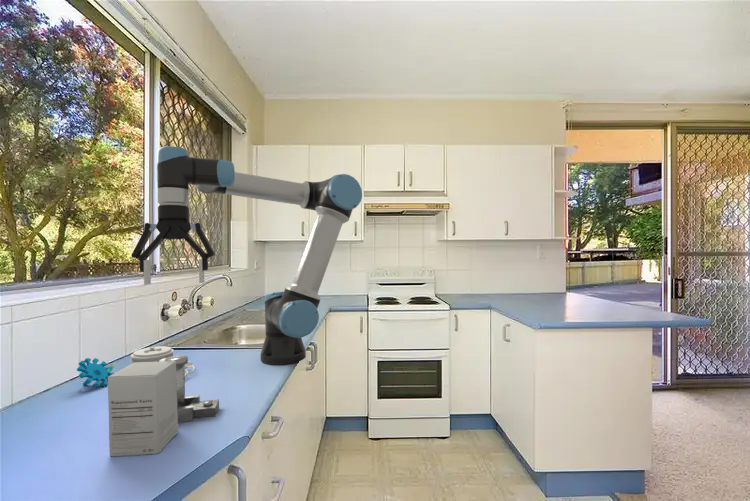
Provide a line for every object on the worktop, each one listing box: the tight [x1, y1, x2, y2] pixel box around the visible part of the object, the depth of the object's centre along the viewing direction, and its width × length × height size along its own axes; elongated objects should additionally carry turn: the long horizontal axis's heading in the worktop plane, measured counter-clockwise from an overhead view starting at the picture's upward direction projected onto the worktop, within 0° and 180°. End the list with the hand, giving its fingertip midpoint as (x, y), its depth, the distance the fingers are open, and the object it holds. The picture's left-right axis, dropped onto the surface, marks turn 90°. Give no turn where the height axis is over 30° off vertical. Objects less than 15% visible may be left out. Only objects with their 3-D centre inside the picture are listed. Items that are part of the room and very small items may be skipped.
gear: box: [76, 357, 115, 388], centre depth 110 cm, size 11×6×10 cm
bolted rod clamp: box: [177, 394, 220, 424], centre depth 88 cm, size 17×7×3 cm, turn 103°
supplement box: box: [107, 361, 179, 457], centre depth 76 cm, size 9×9×15 cm
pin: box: [165, 355, 189, 407], centre depth 88 cm, size 5×5×13 cm
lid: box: [130, 345, 175, 364], centre depth 130 cm, size 13×13×5 cm
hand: (175, 283), depth 105 cm, fingers open, 13 cm apart
